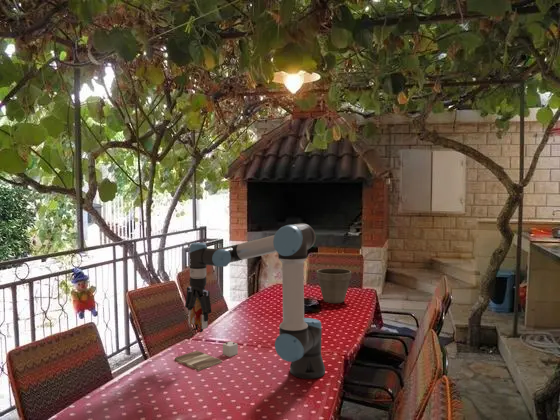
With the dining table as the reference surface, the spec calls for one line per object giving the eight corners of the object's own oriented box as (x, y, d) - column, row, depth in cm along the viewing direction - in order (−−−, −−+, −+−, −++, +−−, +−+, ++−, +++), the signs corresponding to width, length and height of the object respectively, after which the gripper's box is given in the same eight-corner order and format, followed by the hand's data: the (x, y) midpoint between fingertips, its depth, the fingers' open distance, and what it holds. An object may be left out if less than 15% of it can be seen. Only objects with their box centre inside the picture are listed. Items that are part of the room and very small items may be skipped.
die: (237, 354, 212) (237, 342, 212) (229, 356, 209) (229, 345, 208) (230, 351, 216) (230, 340, 216) (222, 354, 212) (222, 342, 212)
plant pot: (311, 298, 325) (311, 268, 324) (341, 295, 332) (342, 267, 331) (324, 306, 301) (324, 274, 300) (357, 304, 308) (357, 273, 307)
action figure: (187, 330, 203) (187, 297, 203) (192, 328, 206) (192, 296, 206) (203, 333, 199) (203, 300, 198) (208, 331, 202) (208, 298, 201)
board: (221, 362, 202) (221, 359, 202) (198, 371, 192) (198, 368, 192) (197, 352, 214) (197, 350, 214) (174, 360, 204) (174, 357, 204)
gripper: (177, 274, 206) (177, 322, 207) (206, 281, 191) (206, 333, 192) (190, 272, 211) (190, 319, 212) (219, 279, 197) (219, 329, 198)
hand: (198, 325), depth 202 cm, fingers closed on action figure, 9 cm apart
